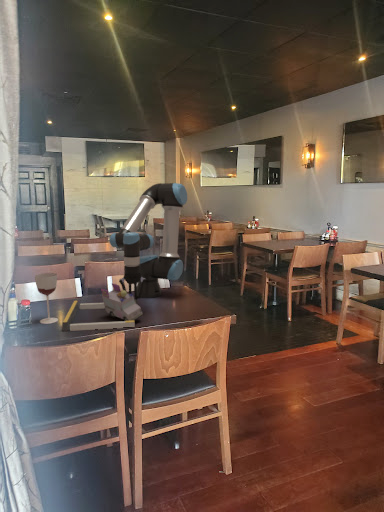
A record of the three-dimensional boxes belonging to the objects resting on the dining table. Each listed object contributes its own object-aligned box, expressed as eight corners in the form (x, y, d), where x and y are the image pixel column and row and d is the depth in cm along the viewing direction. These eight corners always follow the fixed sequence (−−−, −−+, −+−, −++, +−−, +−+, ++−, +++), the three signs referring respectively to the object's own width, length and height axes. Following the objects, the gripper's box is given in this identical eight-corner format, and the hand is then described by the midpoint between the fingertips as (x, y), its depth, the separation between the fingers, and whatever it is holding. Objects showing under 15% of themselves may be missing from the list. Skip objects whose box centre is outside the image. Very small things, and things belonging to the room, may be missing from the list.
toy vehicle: (129, 326, 171) (122, 297, 166) (105, 316, 184) (97, 289, 179) (145, 317, 177) (138, 288, 172) (120, 308, 190) (113, 281, 185)
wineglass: (63, 320, 178) (60, 275, 175) (43, 325, 172) (40, 278, 168) (54, 316, 184) (51, 272, 180) (35, 320, 177) (31, 275, 174)
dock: (134, 305, 200) (134, 298, 200) (134, 327, 169) (134, 318, 168) (74, 308, 196) (74, 300, 195) (62, 331, 165) (62, 322, 164)
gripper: (145, 263, 185) (146, 309, 189) (118, 263, 183) (120, 310, 187) (146, 266, 177) (147, 314, 182) (117, 267, 176) (119, 315, 180)
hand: (133, 312), depth 184 cm, fingers closed
